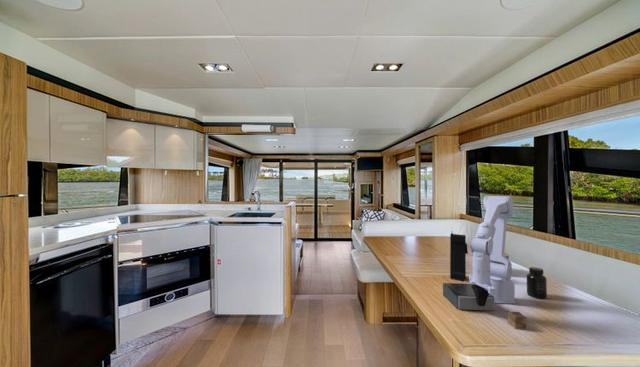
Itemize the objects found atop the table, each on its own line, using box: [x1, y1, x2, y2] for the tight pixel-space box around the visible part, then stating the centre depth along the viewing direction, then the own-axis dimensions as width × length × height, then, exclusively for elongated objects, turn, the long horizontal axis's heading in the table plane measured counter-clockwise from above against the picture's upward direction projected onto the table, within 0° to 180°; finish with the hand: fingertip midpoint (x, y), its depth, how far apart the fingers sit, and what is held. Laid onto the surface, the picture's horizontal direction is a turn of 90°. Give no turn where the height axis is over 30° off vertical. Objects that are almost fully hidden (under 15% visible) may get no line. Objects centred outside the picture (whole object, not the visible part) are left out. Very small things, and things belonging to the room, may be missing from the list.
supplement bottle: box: [526, 266, 548, 300], centre depth 115 cm, size 7×7×12 cm
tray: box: [458, 296, 495, 311], centre depth 107 cm, size 13×13×5 cm
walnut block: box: [507, 311, 527, 330], centre depth 90 cm, size 4×4×4 cm
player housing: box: [442, 282, 494, 310], centre depth 109 cm, size 14×13×5 cm
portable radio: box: [449, 232, 469, 282], centre depth 137 cm, size 8×6×25 cm
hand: (481, 305), depth 100 cm, fingers closed
